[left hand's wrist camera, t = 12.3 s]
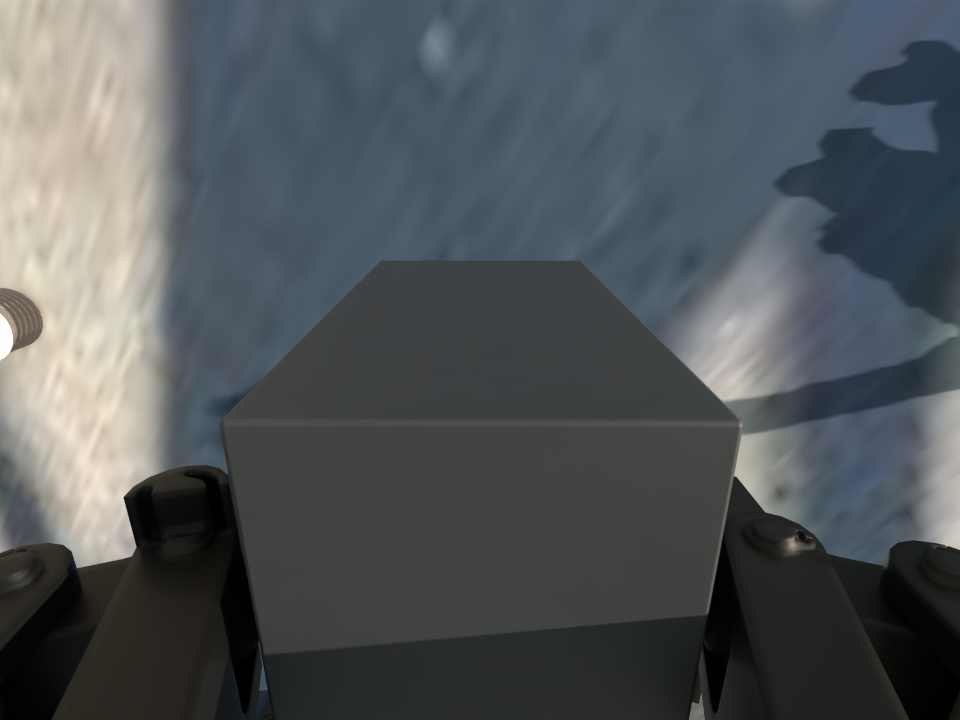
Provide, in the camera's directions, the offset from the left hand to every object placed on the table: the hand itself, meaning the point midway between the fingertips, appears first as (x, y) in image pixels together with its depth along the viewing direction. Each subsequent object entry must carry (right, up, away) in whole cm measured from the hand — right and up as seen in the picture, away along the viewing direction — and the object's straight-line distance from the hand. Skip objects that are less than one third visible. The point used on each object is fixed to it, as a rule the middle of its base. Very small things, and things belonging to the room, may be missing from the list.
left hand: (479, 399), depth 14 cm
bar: (0, -8, +4) cm, 9 cm away
